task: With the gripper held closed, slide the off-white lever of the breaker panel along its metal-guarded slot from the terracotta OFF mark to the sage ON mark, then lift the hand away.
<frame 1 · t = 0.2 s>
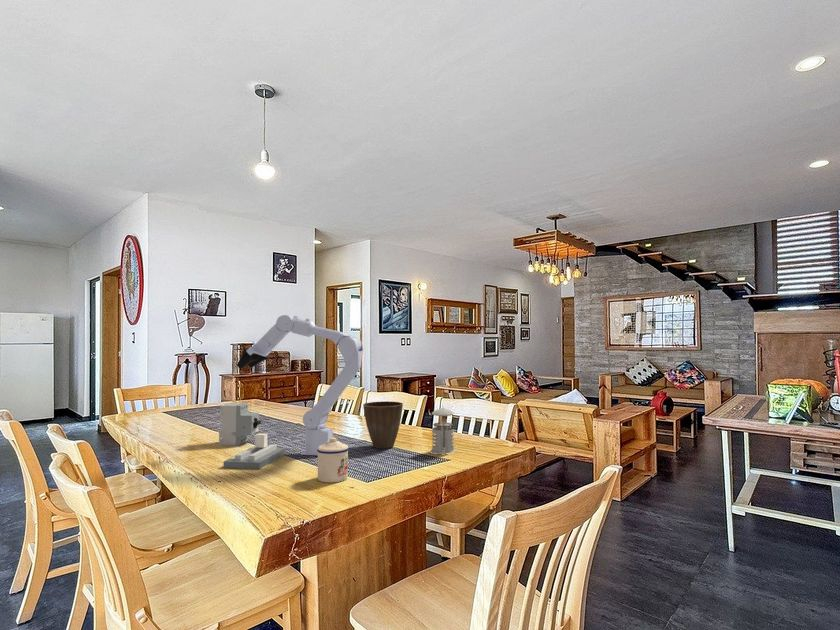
hand: (244, 366, 171), 31 cm above the table, tool tilted 45°, fingers open, 7 cm apart
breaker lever: (261, 442, 159), point 5 cm above the table, slide at 0.0 cm
teacup with lid: (334, 477, 136), on the table
plant pot: (383, 447, 175), on the table
breaker panel: (256, 460, 156), on the table
circuit breaker: (241, 443, 182), on the table
french press: (443, 452, 166), on the table
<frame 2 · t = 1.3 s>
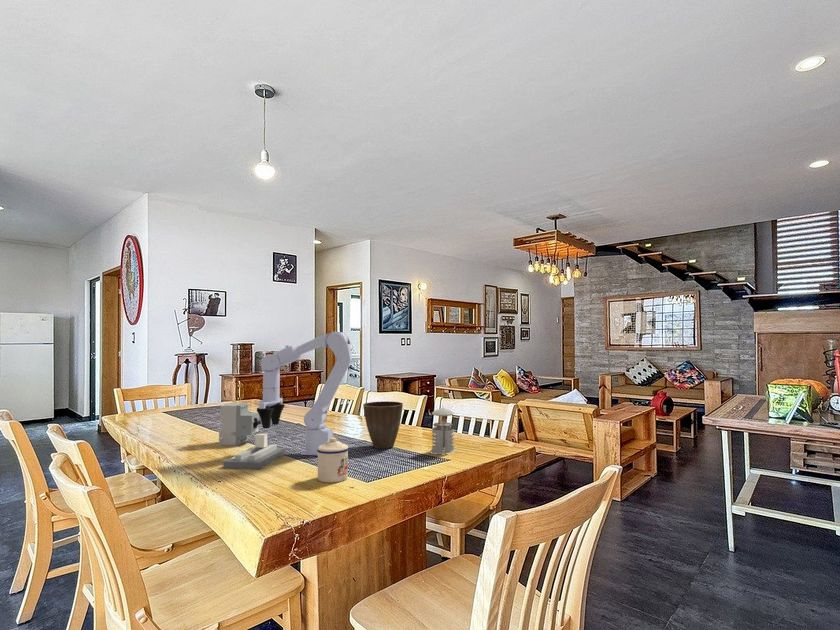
hand: (270, 426, 166), 9 cm above the table, tool pointing down, fingers open, 6 cm apart
nothing on the table moved.
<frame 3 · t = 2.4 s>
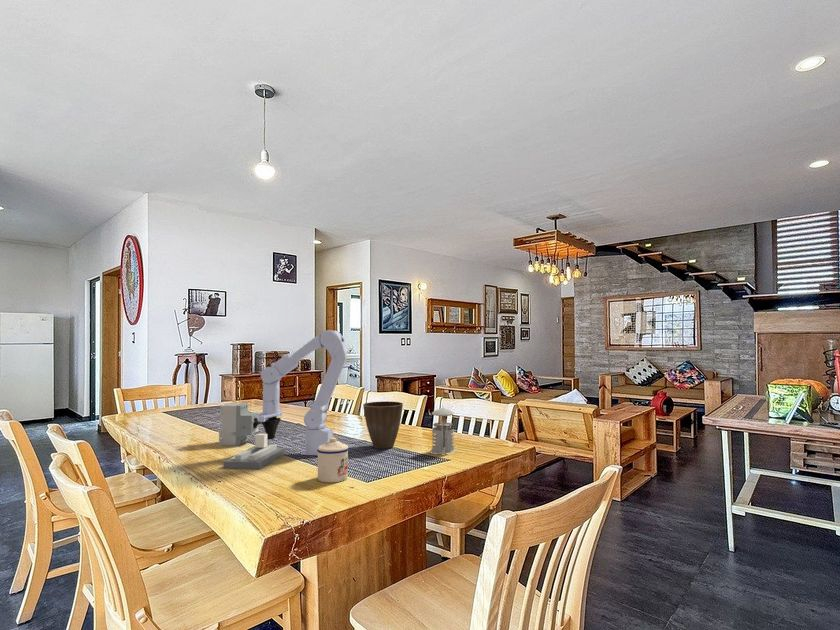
hand: (270, 439, 166), 5 cm above the table, tool pointing down, fingers closed
nothing on the table moved.
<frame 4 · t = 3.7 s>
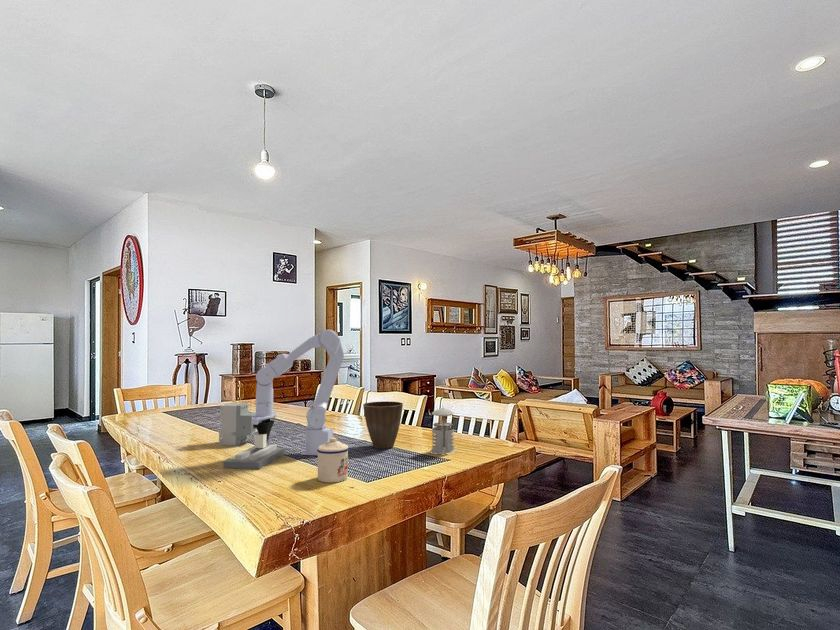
hand: (264, 442, 161), 5 cm above the table, tool pointing down, fingers closed
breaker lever: (260, 443, 158), point 5 cm above the table, slide at 0.6 cm, touching gripper
everything else where it was.
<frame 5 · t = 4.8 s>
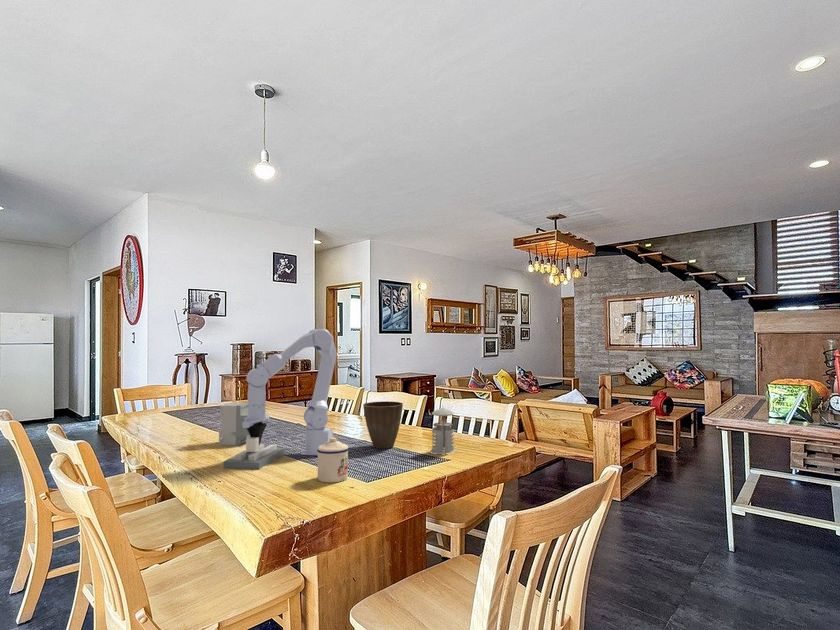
hand: (256, 445, 155), 5 cm above the table, tool pointing down, fingers closed
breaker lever: (252, 447, 153), point 5 cm above the table, slide at 6.1 cm, touching gripper
everything else where it was.
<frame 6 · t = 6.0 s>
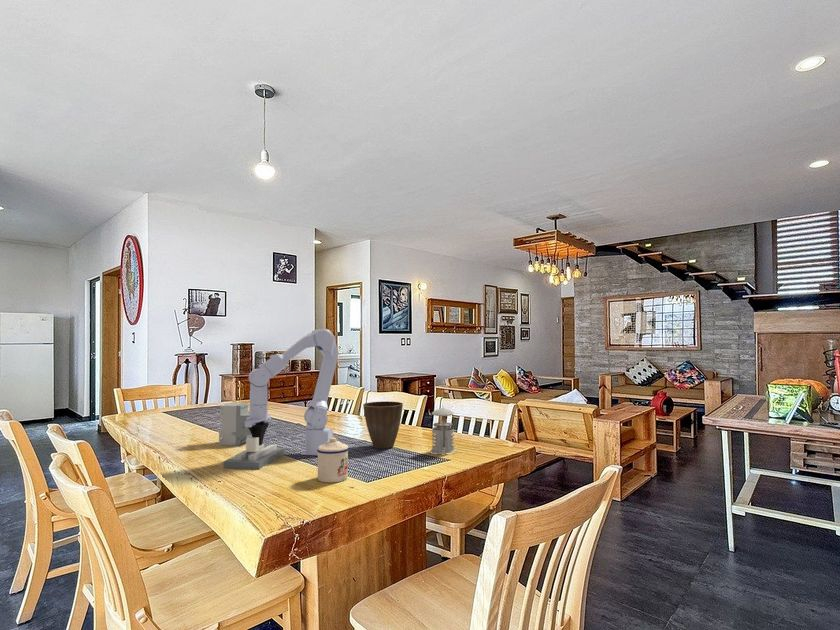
hand: (258, 445, 157), 5 cm above the table, tool pointing down, fingers closed
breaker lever: (252, 447, 153), point 5 cm above the table, slide at 6.0 cm
everything else where it was.
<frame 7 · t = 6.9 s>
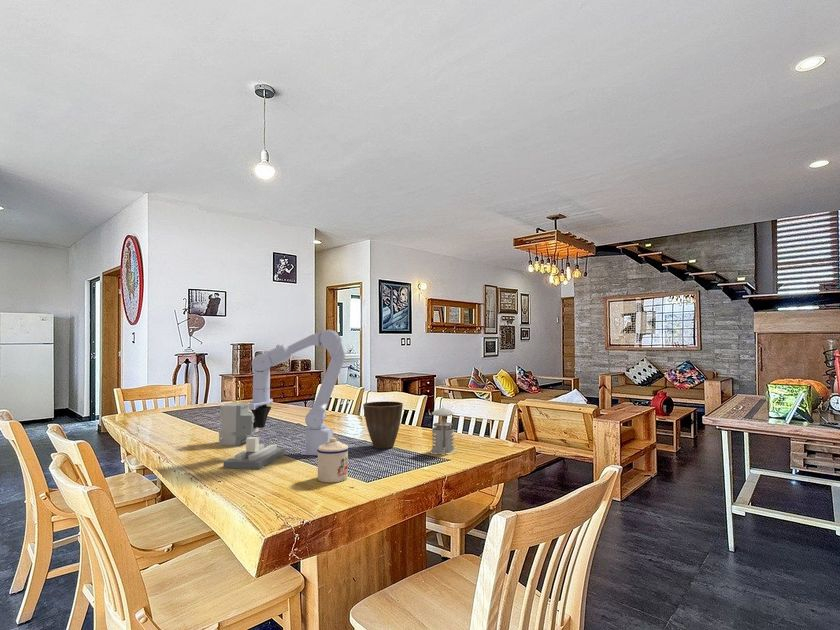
hand: (260, 427, 164), 9 cm above the table, tool pointing down, fingers closed
nothing on the table moved.
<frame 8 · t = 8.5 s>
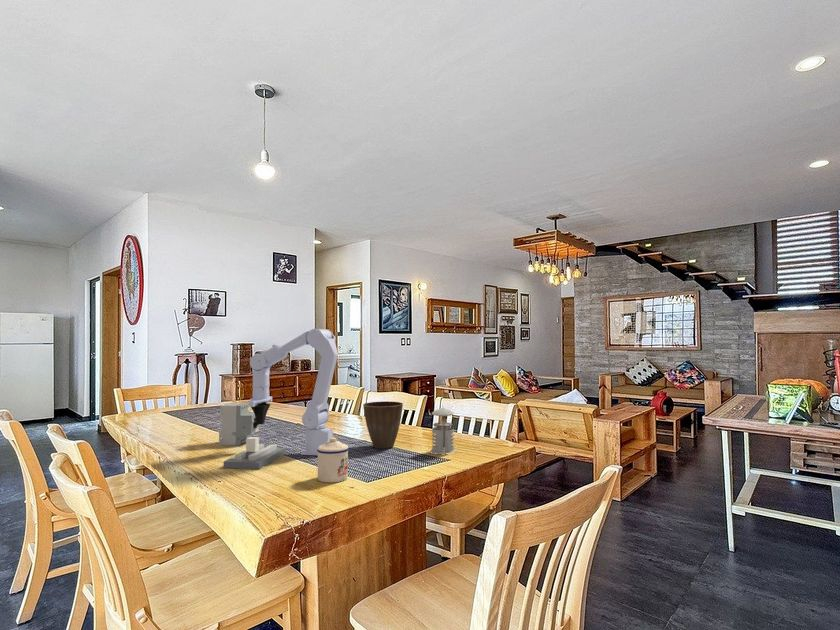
hand: (260, 423, 171), 9 cm above the table, tool pointing down, fingers closed
nothing on the table moved.
at the end: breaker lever slide at 6.0 cm; circuit breaker moved 0.2 cm from its start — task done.
